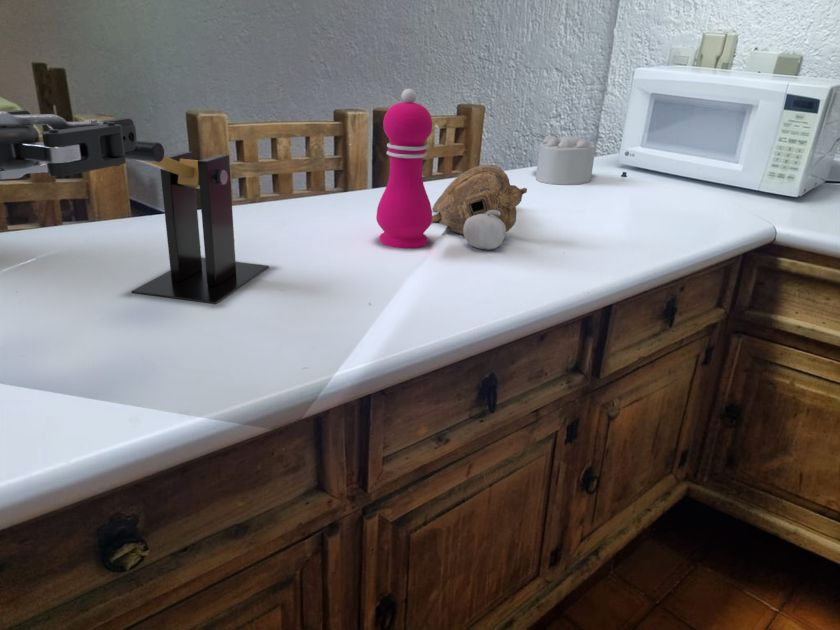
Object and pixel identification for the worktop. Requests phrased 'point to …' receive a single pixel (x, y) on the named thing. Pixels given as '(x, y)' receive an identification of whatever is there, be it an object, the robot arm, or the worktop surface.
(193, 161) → the lever
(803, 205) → the worktop surface
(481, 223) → the garlic
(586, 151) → the lumpy-topped squat cylinder
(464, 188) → the brown wooden birdhouse
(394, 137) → the pepper mill
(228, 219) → the bracket
